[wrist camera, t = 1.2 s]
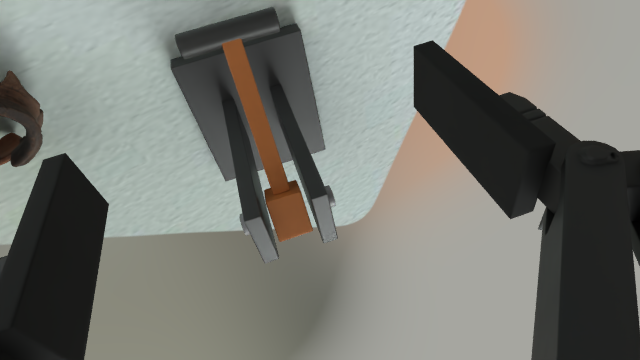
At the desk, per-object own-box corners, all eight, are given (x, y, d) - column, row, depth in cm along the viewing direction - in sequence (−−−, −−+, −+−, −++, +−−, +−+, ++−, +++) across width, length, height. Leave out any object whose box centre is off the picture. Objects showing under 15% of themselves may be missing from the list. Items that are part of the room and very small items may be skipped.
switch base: (170, 59, 30) (171, 190, 19) (296, 23, 30) (362, 128, 20) (224, 171, 38) (245, 304, 27) (321, 140, 39) (377, 258, 28)
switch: (178, 35, 22) (170, 33, 20) (271, 9, 22) (274, 3, 20) (253, 234, 26) (254, 251, 24) (330, 208, 27) (338, 222, 24)
